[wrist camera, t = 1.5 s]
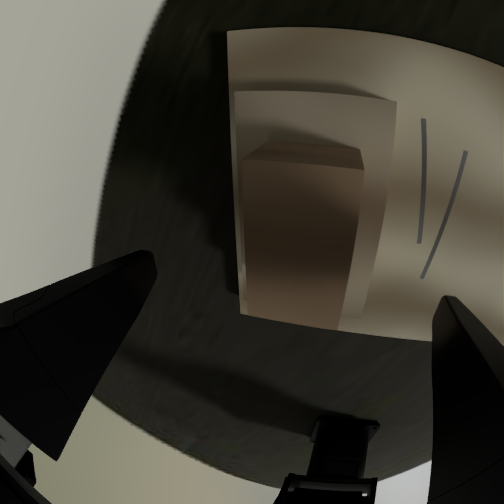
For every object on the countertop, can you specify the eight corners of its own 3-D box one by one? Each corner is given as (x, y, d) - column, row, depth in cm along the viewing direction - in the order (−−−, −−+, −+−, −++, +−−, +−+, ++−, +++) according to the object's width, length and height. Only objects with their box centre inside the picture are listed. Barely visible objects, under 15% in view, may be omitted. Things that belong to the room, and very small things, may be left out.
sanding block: (361, 294, 15) (357, 366, 11) (255, 278, 17) (222, 341, 13) (389, 100, 10) (415, 105, 6) (250, 90, 12) (197, 94, 8)
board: (540, 333, 14) (546, 346, 12) (247, 298, 20) (240, 313, 19) (608, 135, 5) (621, 141, 4) (238, 35, 12) (227, 31, 10)
